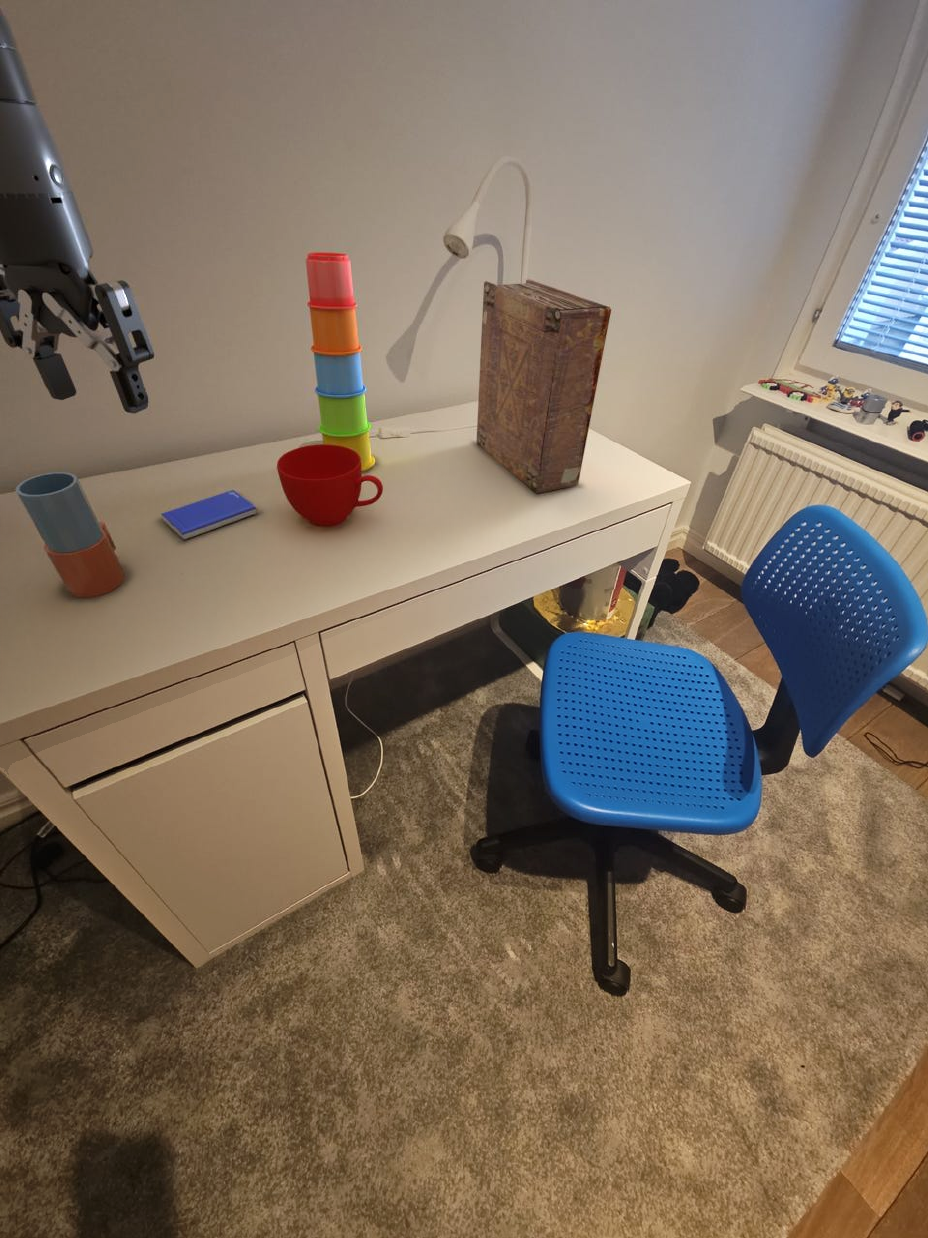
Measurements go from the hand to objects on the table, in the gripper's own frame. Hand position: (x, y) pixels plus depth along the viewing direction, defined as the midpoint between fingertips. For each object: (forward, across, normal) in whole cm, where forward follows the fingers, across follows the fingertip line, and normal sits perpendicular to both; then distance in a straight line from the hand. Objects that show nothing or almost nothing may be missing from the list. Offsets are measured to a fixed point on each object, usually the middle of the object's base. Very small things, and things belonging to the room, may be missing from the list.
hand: (101, 403), depth 51 cm
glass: (+21, -18, +3) cm, 28 cm away
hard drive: (+28, -15, +23) cm, 40 cm away
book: (+28, +29, +64) cm, 76 cm away
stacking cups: (+28, -3, +50) cm, 57 cm away
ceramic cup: (+28, +5, +30) cm, 42 cm away
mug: (+28, -19, +4) cm, 34 cm away
